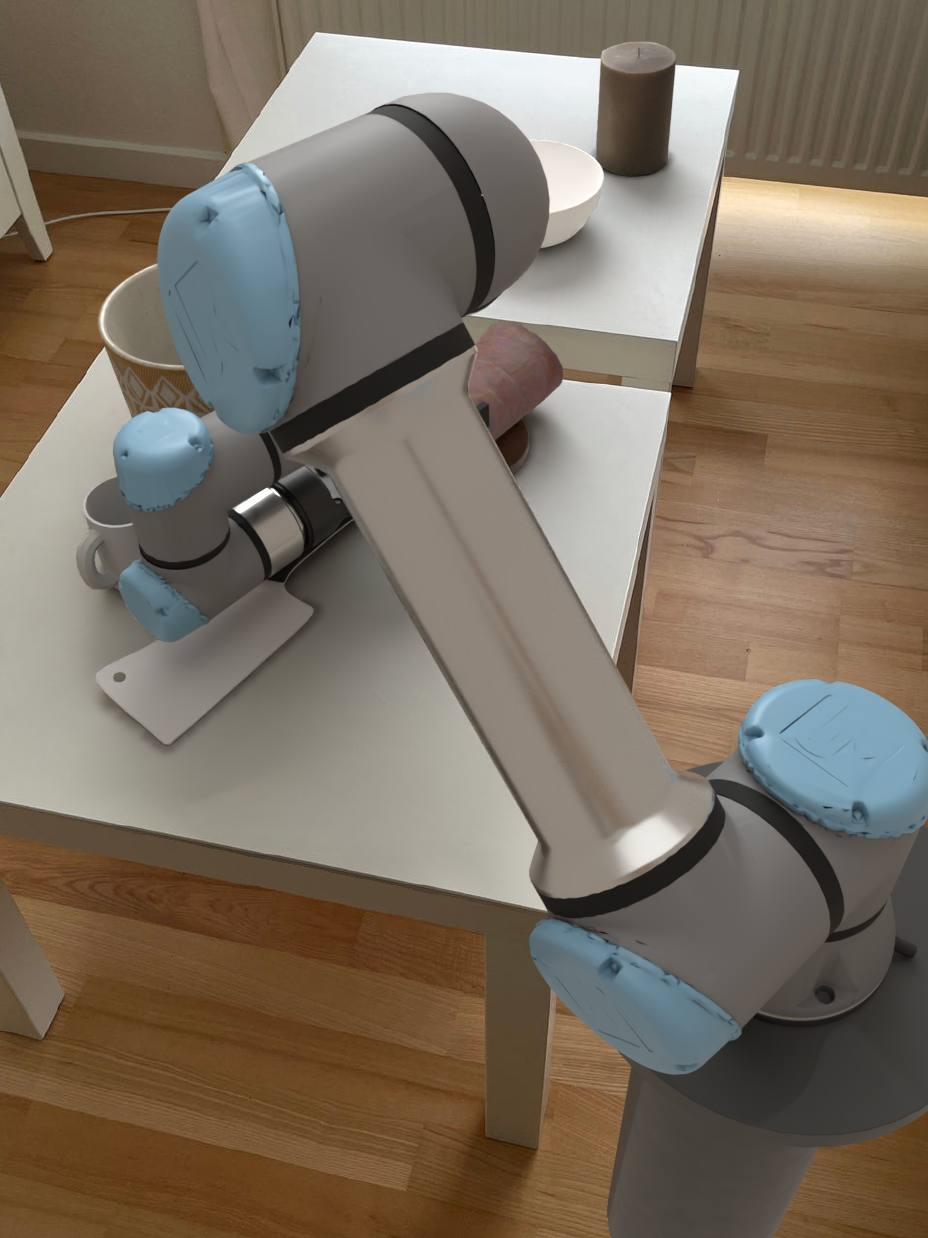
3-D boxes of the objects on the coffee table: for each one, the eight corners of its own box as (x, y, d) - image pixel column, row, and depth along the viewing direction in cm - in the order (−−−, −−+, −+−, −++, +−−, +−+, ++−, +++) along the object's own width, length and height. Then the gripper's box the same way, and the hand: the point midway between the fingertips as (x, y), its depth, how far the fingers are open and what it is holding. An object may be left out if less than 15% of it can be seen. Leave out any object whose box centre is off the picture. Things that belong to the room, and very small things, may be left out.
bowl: (628, 244, 154) (632, 190, 148) (495, 283, 149) (494, 229, 144) (557, 179, 165) (559, 126, 160) (432, 213, 160) (429, 160, 155)
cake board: (554, 431, 130) (554, 422, 129) (481, 509, 122) (481, 500, 122) (442, 389, 136) (442, 379, 135) (366, 461, 128) (366, 452, 127)
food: (488, 375, 135) (487, 304, 128) (564, 403, 132) (568, 331, 125) (376, 487, 123) (369, 416, 117) (457, 521, 120) (454, 449, 113)
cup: (199, 563, 119) (180, 493, 112) (119, 626, 113) (95, 557, 107) (147, 532, 122) (126, 462, 115) (68, 592, 116) (41, 523, 110)
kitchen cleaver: (165, 741, 103) (85, 675, 107) (168, 752, 105) (88, 687, 108) (410, 533, 119) (333, 482, 123) (410, 545, 121) (333, 494, 124)
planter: (181, 374, 139) (149, 241, 126) (345, 398, 135) (329, 263, 123) (104, 487, 126) (61, 352, 114) (283, 517, 123) (257, 380, 110)
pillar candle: (659, 180, 164) (669, 66, 153) (587, 171, 166) (592, 58, 155) (674, 145, 170) (685, 33, 159) (604, 137, 172) (610, 26, 161)
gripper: (216, 498, 119) (387, 386, 130) (361, 601, 109) (533, 470, 120) (202, 437, 113) (382, 325, 124) (354, 539, 104) (534, 408, 115)
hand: (456, 397), depth 122 cm, fingers closed on food, 7 cm apart
